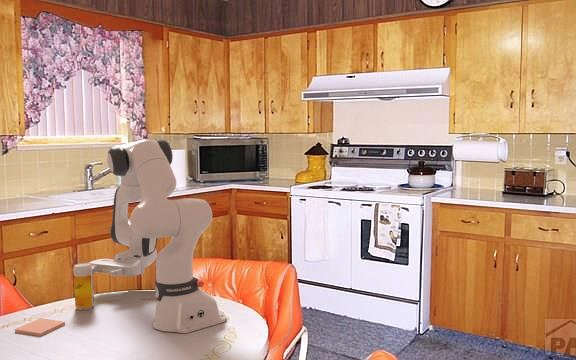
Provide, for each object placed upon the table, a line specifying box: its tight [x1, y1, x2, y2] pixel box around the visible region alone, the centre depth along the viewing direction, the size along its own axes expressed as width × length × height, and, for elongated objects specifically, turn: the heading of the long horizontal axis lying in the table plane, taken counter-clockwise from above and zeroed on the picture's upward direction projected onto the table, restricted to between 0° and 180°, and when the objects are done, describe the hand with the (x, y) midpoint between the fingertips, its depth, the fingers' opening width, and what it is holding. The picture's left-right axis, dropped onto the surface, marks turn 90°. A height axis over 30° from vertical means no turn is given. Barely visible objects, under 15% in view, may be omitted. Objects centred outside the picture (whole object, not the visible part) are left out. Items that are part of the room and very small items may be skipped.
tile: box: [14, 317, 66, 337], centre depth 168 cm, size 1×10×10 cm
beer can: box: [72, 262, 95, 311], centre depth 185 cm, size 6×6×15 cm
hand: (100, 273), depth 193 cm, fingers open, 8 cm apart
